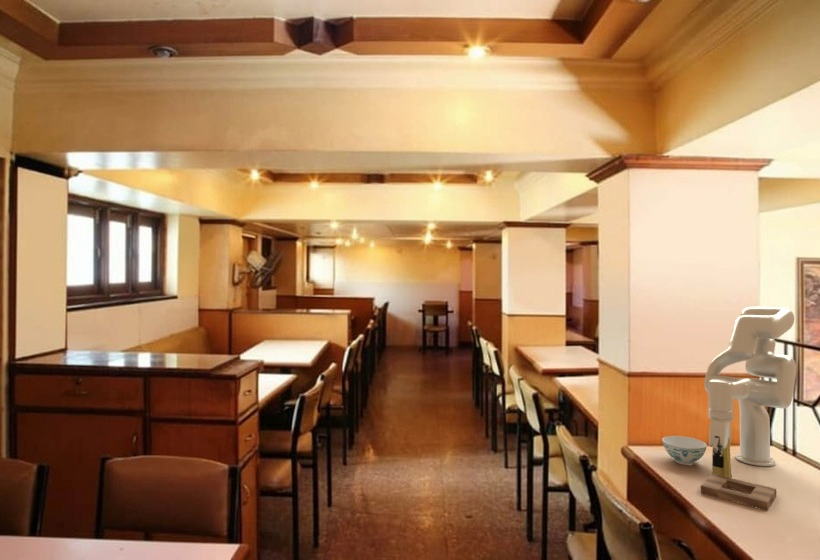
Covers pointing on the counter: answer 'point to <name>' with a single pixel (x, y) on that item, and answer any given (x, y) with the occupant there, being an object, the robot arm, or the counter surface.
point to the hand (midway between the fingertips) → (721, 463)
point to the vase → (727, 463)
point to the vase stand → (757, 498)
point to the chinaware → (684, 449)
